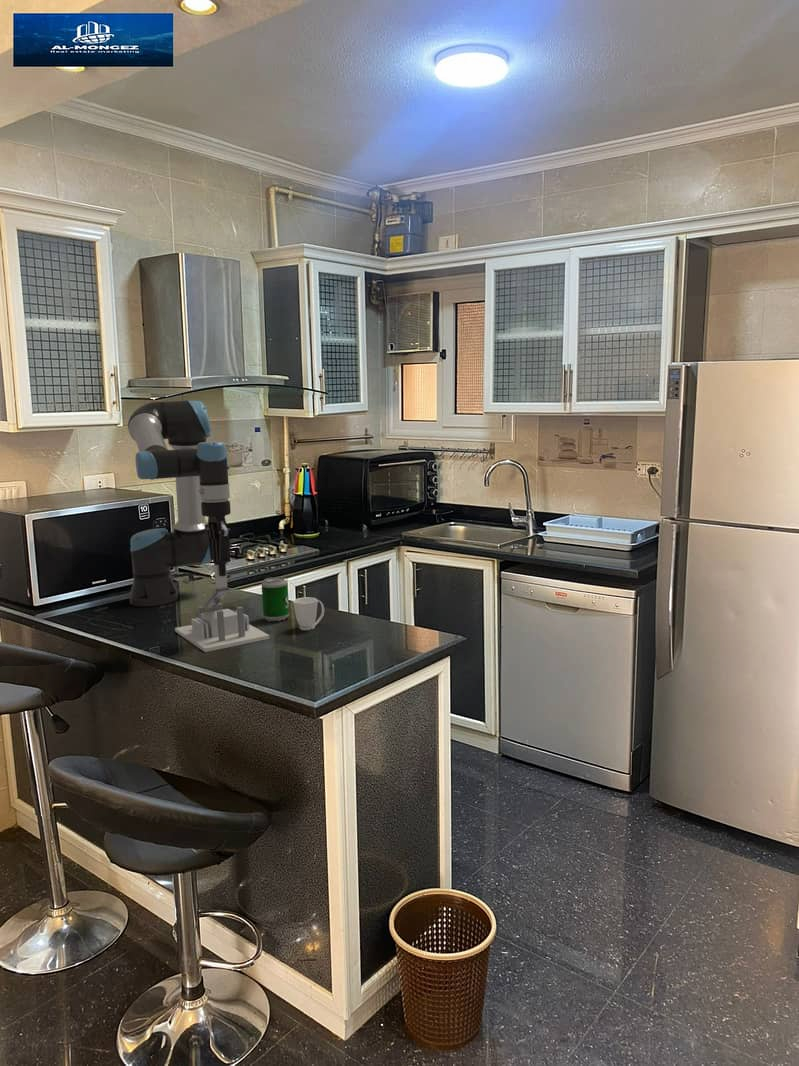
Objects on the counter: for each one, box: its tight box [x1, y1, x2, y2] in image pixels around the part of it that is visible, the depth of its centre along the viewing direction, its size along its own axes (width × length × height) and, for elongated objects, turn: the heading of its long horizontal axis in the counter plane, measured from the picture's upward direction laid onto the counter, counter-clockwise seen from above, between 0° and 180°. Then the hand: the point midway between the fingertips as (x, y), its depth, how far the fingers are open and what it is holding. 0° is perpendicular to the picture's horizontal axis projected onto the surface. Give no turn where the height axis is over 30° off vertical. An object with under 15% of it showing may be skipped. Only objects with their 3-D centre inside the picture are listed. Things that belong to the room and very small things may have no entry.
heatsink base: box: [174, 602, 270, 653], centre depth 216 cm, size 24×18×9 cm
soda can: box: [261, 576, 290, 622], centre depth 230 cm, size 8×8×12 cm
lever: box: [204, 586, 230, 609], centre depth 216 cm, size 14×3×2 cm, turn 33°
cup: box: [292, 597, 325, 631], centre depth 221 cm, size 7×10×8 cm
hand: (221, 587), depth 212 cm, fingers closed
